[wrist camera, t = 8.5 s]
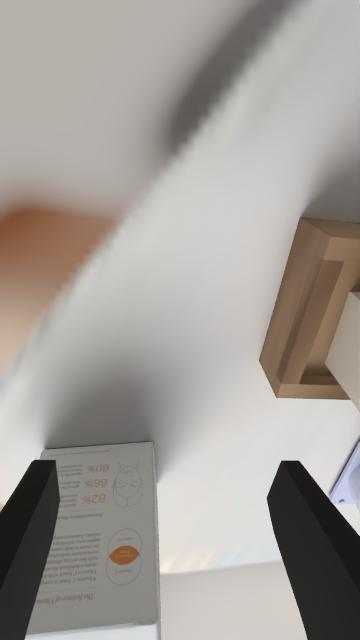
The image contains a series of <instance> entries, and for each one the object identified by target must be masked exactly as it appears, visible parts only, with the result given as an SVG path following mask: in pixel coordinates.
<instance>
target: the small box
mask: <svg viewBox="0 0 360 640" xmlns="http://www.w3.org/2000/svg"><path fill="white" fill-rule="evenodd" d="M39 460H56V467H57V476H58V485H59V494H60V504H59V510H58V515H57V521H56V526H55V531H54V537H53V540H52V544H51V548H50V551H49V555H48V558H47V562H46V565H45V569H44V572H43V576H42V579H41V583H40V586H39V590H38V593H37V597H36V600H35V604H34V607H33V611H32V614H31V618H30V621H29V625H28V629H27V633H26V636H25V640H161V614H160V612H161V611H160V572H159V535H158V507H157V482H156V468H155V456H154V444H153V442H140V443H126V444H113V445H99V446H86V447H73V448H60V449H47V450H43V451H42V453H41V456H40V459H39Z"/></svg>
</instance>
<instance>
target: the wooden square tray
mask: <svg viewBox="0 0 360 640" xmlns="http://www.w3.org/2000/svg"><path fill="white" fill-rule="evenodd" d="M349 292H360V224H359V223H349V222H339V221H329V220H319V219H310V218H300V219H299V222H298V226H297V229H296V233H295V236H294V240H293V243H292V247H291V250H290V254H289V257H288V261H287V264H286V268H285V271H284V275H283V278H282V282H281V285H280V289H279V292H278V296H277V299H276V303H275V306H274V310H273V314H272V317H271V321H270V324H269V328H268V331H267V335H266V338H265V342H264V345H263V349H262V352H261V356H260V359H259V362H260V364H261V366H262V368H263V370H264V372H265V374H266V377H267V379H268V381H269V383H270V385H271V387H272V389H273V392H274V394H275V396H276V398H303V399H338V400H351V399H350V397H349V396H348V395H347V393H346V392H345V391H344V389H343V388H342V387H341V385H340V384H339V382H338V381H337V380H336V378H335V377H334V376H333V374H332V373H331V372H330V370H329V369H328V367H327V366H326V365H325V362H326V359H327V356H328V353H329V350H330V347H331V344H332V341H333V338H334V335H335V332H336V329H337V327H338V324H339V321H340V318H341V315H342V312H343V309H344V306H345V303H346V300H347V297H348V294H349Z"/></svg>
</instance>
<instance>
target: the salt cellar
mask: <svg viewBox="0 0 360 640" xmlns="http://www.w3.org/2000/svg"><path fill="white" fill-rule="evenodd" d="M325 365H326V366H327V367H328V369H329V370H330V372H331V373H332V374H333V376H334V377H335V378H336V380H337V381H338V382H339V384H340V385H341V387H342V388H343V389H344V391H345V392H346V393H347V395H348V396H349V397H350V399H351V400H352V402H353V403H354V404H355V406H356V407H357V408H358V410H359V411H360V292H349V294H348V297H347V300H346V303H345V306H344V309H343V312H342V315H341V318H340V321H339V324H338V327H337V329H336V332H335V335H334V338H333V341H332V344H331V347H330V350H329V353H328V356H327V359H326V362H325Z"/></svg>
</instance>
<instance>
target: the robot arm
mask: <svg viewBox="0 0 360 640" xmlns="http://www.w3.org/2000/svg"><path fill="white" fill-rule="evenodd" d="M267 502H268V507H269V512H270V517H271V521H272V526H273V530H274V534H275V537H276V541H277V544H278V547H279V550H280V553H281V556H282V559H283V562H284V565H285V568H286V571H287V574H288V578H289V580H290V584H291V587H292V590H293V593H294V596H295V599H296V602H297V605H298V608H299V611H300V614H301V618H302V621H303V624H304V628H305V631H306V635H307V639H308V640H360V536H359V535H358V534H357V532H356V531H355V530H354V529H353V528H352V526H351V525H350V524H349V523H348V522H347V520H346V519H345V518H344V517H343V516H342V514H341V513H340V512H339V511H338V510H337V508H336V507H335V506H334V505H333V504H356V506H357V508H358V510H359V512H360V441H359V443H358V445H357V447H356V448H355V450H354V452H353V454H352V456H351V458H350V459H349V461H348V463H347V465H346V467H345V469H344V470H343V472H342V474H341V476H340V478H339V480H338V482H337V483H336V485H335V487H334V489H333V491H332V493H331V494H330V496H329V498H328V497H327V496H326V494H325V493H324V492H323V491H322V489H321V488H320V487H319V486H318V484H317V483H316V482H315V480H314V479H313V478H312V477H311V475H310V474H309V473H308V471H307V470H306V469H305V468H304V466H303V465H302V464H301V463H300V461H281V463H280V465H279V468H278V471H277V473H276V476H275V478H274V481H273V483H272V486H271V488H270V491H269V493H268V496H267ZM59 504H60V494H59V485H58V476H57V467H56V460H34V461H32V462H31V464H30V466H29V467H28V469H27V471H26V473H25V474H24V476H23V478H22V479H21V481H20V483H19V484H18V486H17V487H16V489H15V491H14V492H13V494H12V495H11V497H10V498H9V500H8V501H7V503H6V504H5V506H4V507H3V509H2V510H1V512H0V640H25V636H26V633H27V629H28V625H29V621H30V618H31V614H32V611H33V607H34V604H35V600H36V597H37V593H38V590H39V586H40V583H41V579H42V576H43V572H44V569H45V565H46V562H47V558H48V555H49V551H50V548H51V544H52V540H53V537H54V531H55V526H56V521H57V515H58V510H59Z"/></svg>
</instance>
